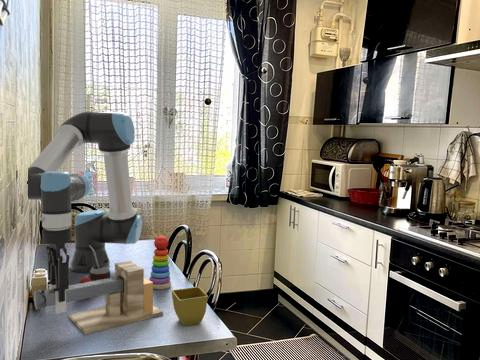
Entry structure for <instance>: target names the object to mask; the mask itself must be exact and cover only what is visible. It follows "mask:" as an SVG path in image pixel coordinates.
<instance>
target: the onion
mask: <svg viewBox="0 0 480 360" xmlns="http://www.w3.org/2000/svg"><path fill="white" fill-rule="evenodd" d="M91 281H92V280H90V277H89V276H88V275H85V276H83V278H81V279H80V281H79V282H78V283H77V284H81V283H86V282H91ZM87 299H89V298H86V299H85V300H87Z"/></svg>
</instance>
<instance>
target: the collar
mask: <svg viewBox="0 0 480 360" xmlns="http://www.w3.org/2000/svg"><path fill="white" fill-rule="evenodd" d="M153 301H154V289H153V282H151V281H150V280H149V279H148V278H147V277H145V276H144V313H145V312H149V311H153V305H154V302H153Z"/></svg>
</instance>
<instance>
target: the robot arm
mask: <svg viewBox="0 0 480 360" xmlns="http://www.w3.org/2000/svg"><path fill="white" fill-rule="evenodd" d="M135 131H136V129H135V125H134V122H133V119H132V117H131V116H130V115H129V114H128V113H126V112H122V111H121V112H119V111H92V110H91V111H82V112H79V113H77V114H74V115H73V116H71V117H70V118H68V119H67V120H65V121H64V122H62V124H60V125H59V126H58V128H57V129H56V133H55V136H54V137H53V138H52V140H51V141H50V142H49V143H48V144H47V145H46V147H45V148H44V149H43V150H42V151H41V152H40V153H39V155H38V156H37V157H36V158H35V159H34V161H33V162H32V163H30V165H29V166H28V167H27V169H28V181H27V184H28V199H29V200H31V201H35V200H36V201H37V200H39V201H40V200H41V217H39V221H41V227H42V228H43V229H42V230H41V235H42V238H41V239H42V240H41V241H42V243H43V244H45V245H47V246H46V248H45V249H46V257H47V280H48V281H49V284H50V289H53V290H54V292H55V305H53V306H50V308H51V309H55V312H54V313H55V314H56V315H57V314H60V313H65V312H67V303H66V289H69V286H70V284H69V279H70V278H69V277H70V272H69V270H70V269H71V271H73V272H76V273H82V274H83V273H84V274H86V273H87V274H90V270H91V269H92V267H94V266H97V263H96V260H95V256H94V254H93V253H94V252H93V251H92V249H91V248H90V247H89V245H90V246H91V247H92V248H93V249H94V251H95V252H96V257H97V261H98V264H99V265H105V266H107V267H108V268H109V269H110V266H111V265H110V262H111V261H110V258H109V255H108V253H107V249H106V244H115V245H116V244H119V245H122V244H123V245H130V244H131V245H134V244H136V243H137V242H138V241H139V239H140V238H141V237H140V236H141V233H142V229H143V216H142V215H139V214H138V213H137V209H136V208H134V206H133V204H132V202H133V201H132V193H131V192H132V191H131V180H130V171H129V160H128V151H129V149H131V145H132V144H133V143H134V142H135V139H136V138H135V134H136V132H135ZM84 144H97V148H98V150H99V152H101V153H102V154H103V161H104V162H103V163H104V171H105V179H106V188H107V194H108V195H107V197H108V202H109V204H108V205H109V210H108V211H107V212H106V211H105V210H103V209H95V210H89V211H88V210H87V211H84V212H80V213H77V214H76V215H75V217H74V225H73V223H72V222H73V221H72V220H73V219H72V202H74V201H79V200H81V199H82V198H84V197H85V196H86V195H87V194H89V190H90V182H89V180H88V178H87V177H85V176H84V175H83V174H77V173H76V174H75V173H74V174H73V173H72V174H70V172H69V171H66V170H60V169H61V168H62V167H63V165H64V164H65V162H66V161H67V160H68V159H69V157H70V156H71V155H72V154H73V152H74V151H75V149H78V148H80V147H81V146H82V145H84ZM72 225H73V226H74V252H73V255H72V259H71V262H70V255H69V254H68V250H67V248H66V245H65V244H67V243H69V242H71V241H72V239H73V237H72V236H73V235H72V228H71V226H72ZM69 265H70V266H69ZM69 267H70V269H69ZM54 288H56V289H54Z"/></svg>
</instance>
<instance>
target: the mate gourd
mask: <svg viewBox="0 0 480 360" xmlns="http://www.w3.org/2000/svg"><path fill="white" fill-rule="evenodd" d="M89 247H90V248H91V249H92V251H93V252H94V253H93V254H94V256H95V260H96V263H97V266H94V267H92V269H91V270H90V273H88V274H89V276H88V278H89V279H90V280H92V281H97V280H102V279H107V278H111V270H110V267H109V268H108V267H107V266H105V265H99V264H98V261H97V257H96V252H95V251H94V249H93V248H92V247H91V246H90V245H89Z"/></svg>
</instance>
